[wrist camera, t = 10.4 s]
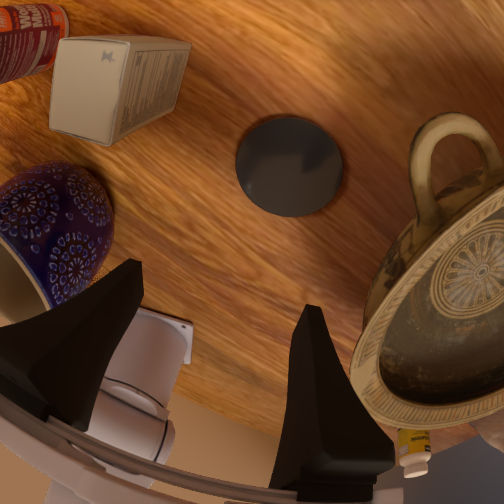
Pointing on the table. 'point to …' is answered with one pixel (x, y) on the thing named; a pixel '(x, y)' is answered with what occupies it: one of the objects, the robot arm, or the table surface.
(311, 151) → the slate coaster
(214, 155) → the table surface
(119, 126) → the small box
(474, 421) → the bird
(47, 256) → the planter
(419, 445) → the supplement bottle
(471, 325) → the ceramic bowl
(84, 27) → the table surface
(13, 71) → the pill bottle
